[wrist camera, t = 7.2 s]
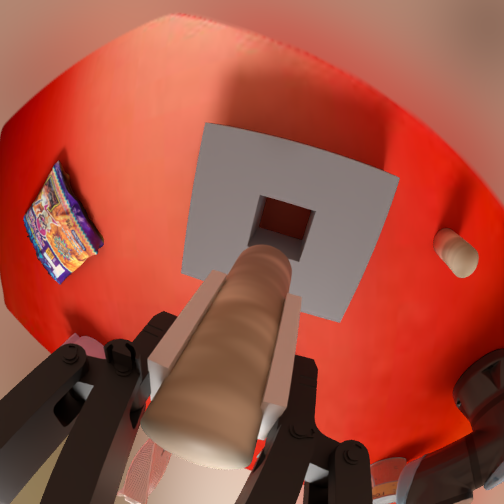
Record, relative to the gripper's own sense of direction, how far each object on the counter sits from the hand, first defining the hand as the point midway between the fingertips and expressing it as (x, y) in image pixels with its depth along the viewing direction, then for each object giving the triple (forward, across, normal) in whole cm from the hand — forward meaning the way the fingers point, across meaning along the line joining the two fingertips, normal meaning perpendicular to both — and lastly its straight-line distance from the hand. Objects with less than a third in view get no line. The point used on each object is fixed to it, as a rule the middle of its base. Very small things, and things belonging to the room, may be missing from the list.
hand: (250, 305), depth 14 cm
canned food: (+19, -48, +56) cm, 76 cm away
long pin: (+4, 0, 0) cm, 4 cm away
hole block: (+18, 0, 0) cm, 18 cm away
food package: (+20, +39, +13) cm, 45 cm away
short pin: (+18, -20, -3) cm, 27 cm away
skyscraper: (+19, +11, +55) cm, 59 cm away
